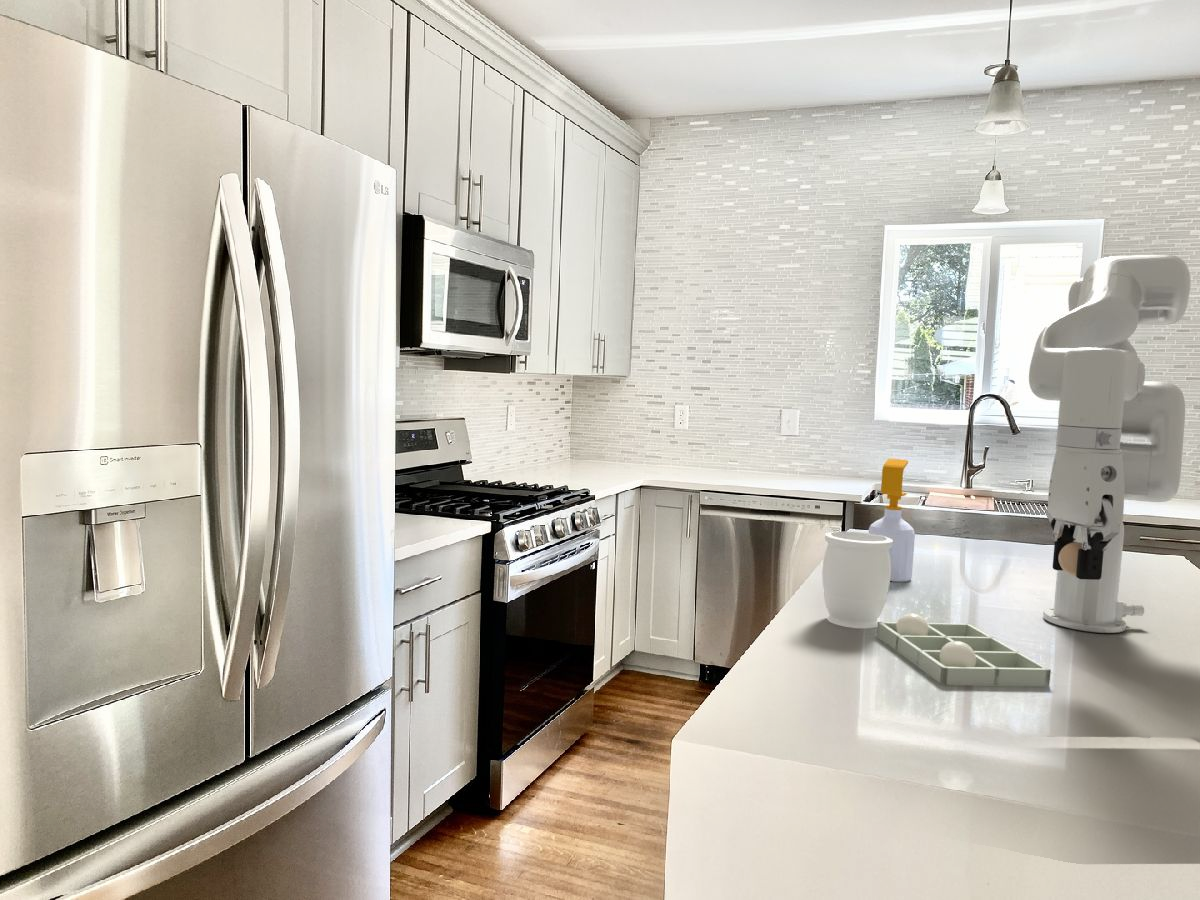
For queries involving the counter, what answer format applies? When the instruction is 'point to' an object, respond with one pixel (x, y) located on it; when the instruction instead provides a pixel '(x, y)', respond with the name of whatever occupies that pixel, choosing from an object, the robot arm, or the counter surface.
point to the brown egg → (1069, 557)
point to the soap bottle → (895, 522)
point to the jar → (856, 577)
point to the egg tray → (992, 656)
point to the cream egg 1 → (912, 625)
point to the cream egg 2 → (957, 655)
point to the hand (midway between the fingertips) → (1076, 573)
